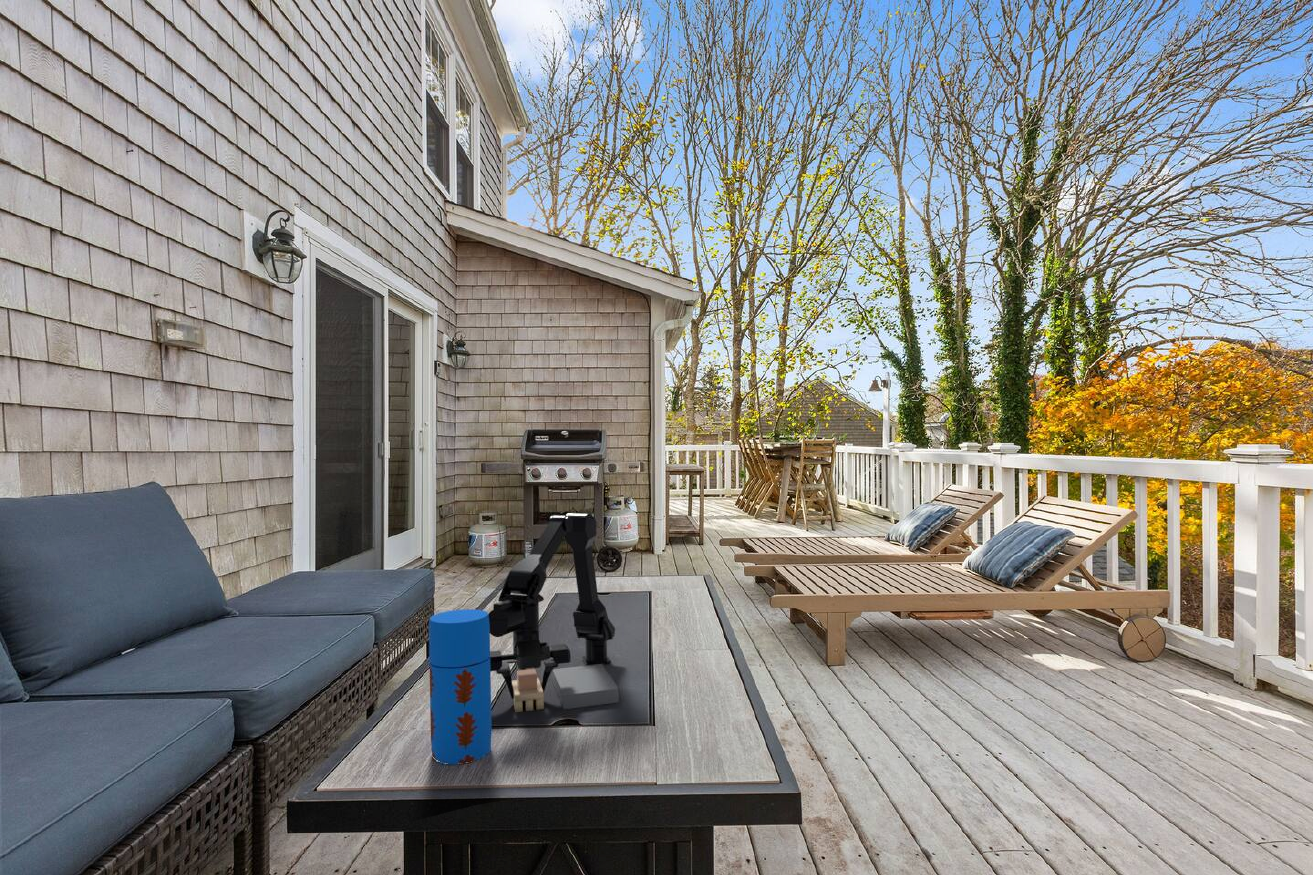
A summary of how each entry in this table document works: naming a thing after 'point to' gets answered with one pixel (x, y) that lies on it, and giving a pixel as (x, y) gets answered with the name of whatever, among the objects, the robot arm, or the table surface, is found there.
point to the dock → (585, 686)
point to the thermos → (460, 685)
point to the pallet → (528, 697)
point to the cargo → (526, 679)
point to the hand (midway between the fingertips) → (527, 696)
